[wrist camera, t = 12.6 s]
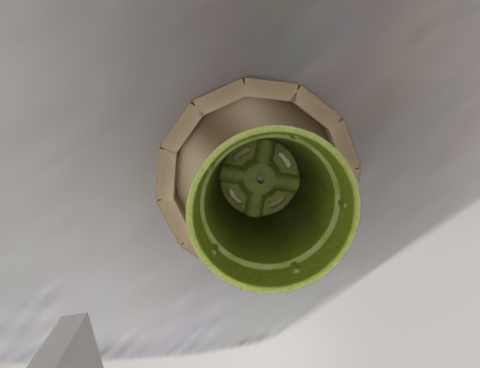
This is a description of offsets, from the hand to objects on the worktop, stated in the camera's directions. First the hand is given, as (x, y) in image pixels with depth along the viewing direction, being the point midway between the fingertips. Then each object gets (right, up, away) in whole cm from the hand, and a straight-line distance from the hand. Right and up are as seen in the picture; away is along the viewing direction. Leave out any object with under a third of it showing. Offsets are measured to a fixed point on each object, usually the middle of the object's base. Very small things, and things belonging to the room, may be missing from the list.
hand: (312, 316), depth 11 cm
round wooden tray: (-1, +4, +18) cm, 18 cm away
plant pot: (-1, +5, +17) cm, 18 cm away
